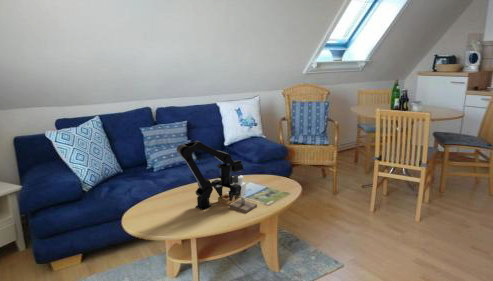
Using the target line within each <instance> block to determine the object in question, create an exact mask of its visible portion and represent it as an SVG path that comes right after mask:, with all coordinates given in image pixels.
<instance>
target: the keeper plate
mask: <svg viewBox="0 0 493 281" xmlns="http://www.w3.org/2000/svg"><path fill="white" fill-rule="evenodd" d="M240 198H241V199H239V200H237V201H236V200H235V201H234V202H232V203H230V204H228V207H229V209H232V210H235V211H239V212H242V213H245V214H247V213H249V212H251V211H252V210H254V209H256V208H257V207H258V204H257V203H254V202H251V201H250V202H249V201H246V199H245V198H246V197H243V196H241V197H240Z"/></svg>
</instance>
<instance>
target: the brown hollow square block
mask: <svg viewBox="0 0 493 281" xmlns="http://www.w3.org/2000/svg"><path fill="white" fill-rule="evenodd" d="M235 197H236V196H233V199H232V201H230V198H229V193H228V194H227V193H224V194H222V196H218V197H217V203H220V204H223V205H226V206H229V205H231V204H233V203H234V202H236V199H235Z"/></svg>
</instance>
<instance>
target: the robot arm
mask: <svg viewBox="0 0 493 281" xmlns="http://www.w3.org/2000/svg"><path fill="white" fill-rule="evenodd" d="M199 150H200V151H202V152H205V153H207V154H209V155H210V156H213V157H214V158H215V159H216V160H218V161H220V162H218V164H217V165H216V168H217V169H219V170H220V172H219V173H220V175H219V176H218V178H219V179H214V180H212V181H211V180H210V179H208V178H207V177H204V174H202V172H201V170H200V168H199V167H198V165H197V163H196V162H195V160H194V157H193V156H194V155H193V153H195V152H196V151H199ZM176 153H177V154H178V155H179V156H180V158H182V159H183V161H185V163H186V165H187V166H188V168H189V170H190V171H191V172H192V175H193V176H194V178H195V180H196V183H197V186H198V187H197V189H196V190H195V195H196V196H197V197H196V200H197V202H196V203H197V205H195V208H197V209H199V210H200V209H201V210H203V211H204V210H207V209H208V208H210V207H212V204H210V198H211V194H212V193H213V191H214V190H215V191H216V194H217V195H218V197H220V196H222V195H223V189H224V188H226V189H227V188H228V189H229V191H228V195H229V198H230V201H232V199H233V196H234V194H235V192H238V191H240V190H241V185H238V184H234V185H231V184H233V183H237V178H235V177H233V175H232V174H235V173H240V172H243V171H244V166H243V163H242V160H241V159H237V160H233V159H232V155H231V154H229V153H228V152H225V151H223V150H222V151H221V150H217V149H215V148H214V147H213V148H212V147H211V146H208V145H207V144H204V143H203V142H201V141H199V140H194V141H191V142H187V143H181V144H178V145H177V147H176ZM231 173H232V174H231Z"/></svg>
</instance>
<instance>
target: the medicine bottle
mask: <svg viewBox="0 0 493 281" xmlns="http://www.w3.org/2000/svg"><path fill="white" fill-rule="evenodd" d="M232 177H235V178H237V183H233V184H231V185H234V184H238V185H241V190H240V191H238V192H235V194H234V196H235V197H238V198H242V197H243V196H244V195H246V194H247V182H244V176H243V175H241V174H235V175H232Z"/></svg>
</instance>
